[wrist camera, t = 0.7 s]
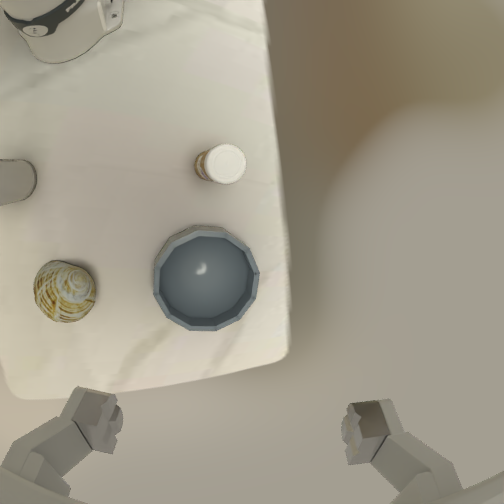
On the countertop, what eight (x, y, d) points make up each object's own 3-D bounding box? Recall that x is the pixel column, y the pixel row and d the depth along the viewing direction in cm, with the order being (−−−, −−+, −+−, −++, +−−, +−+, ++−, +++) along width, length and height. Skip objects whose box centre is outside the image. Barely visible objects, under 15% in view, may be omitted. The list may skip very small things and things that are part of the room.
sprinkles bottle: (188, 169, 45) (197, 168, 33) (206, 144, 45) (223, 134, 32) (212, 186, 47) (231, 192, 34) (230, 162, 47) (255, 159, 34)
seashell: (24, 286, 41) (16, 286, 33) (63, 248, 46) (65, 239, 38) (64, 332, 44) (65, 342, 36) (101, 293, 49) (111, 295, 41)
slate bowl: (157, 222, 46) (157, 227, 42) (257, 230, 50) (265, 235, 47) (152, 317, 49) (152, 329, 45) (244, 320, 54) (251, 331, 50)
